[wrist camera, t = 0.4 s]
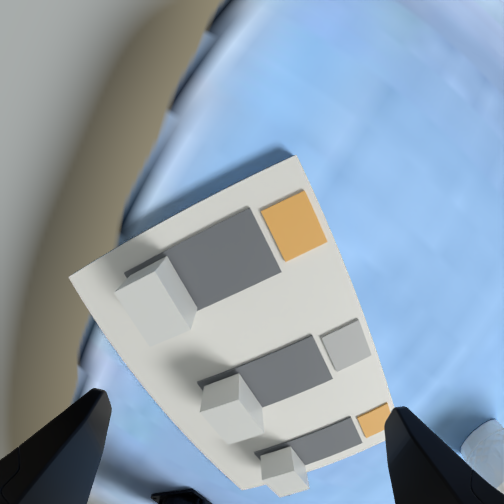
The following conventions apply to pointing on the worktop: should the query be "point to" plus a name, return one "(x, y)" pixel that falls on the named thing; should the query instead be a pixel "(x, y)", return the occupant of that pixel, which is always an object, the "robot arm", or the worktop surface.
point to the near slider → (157, 302)
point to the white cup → (486, 453)
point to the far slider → (284, 472)
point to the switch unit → (254, 324)
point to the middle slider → (232, 409)
